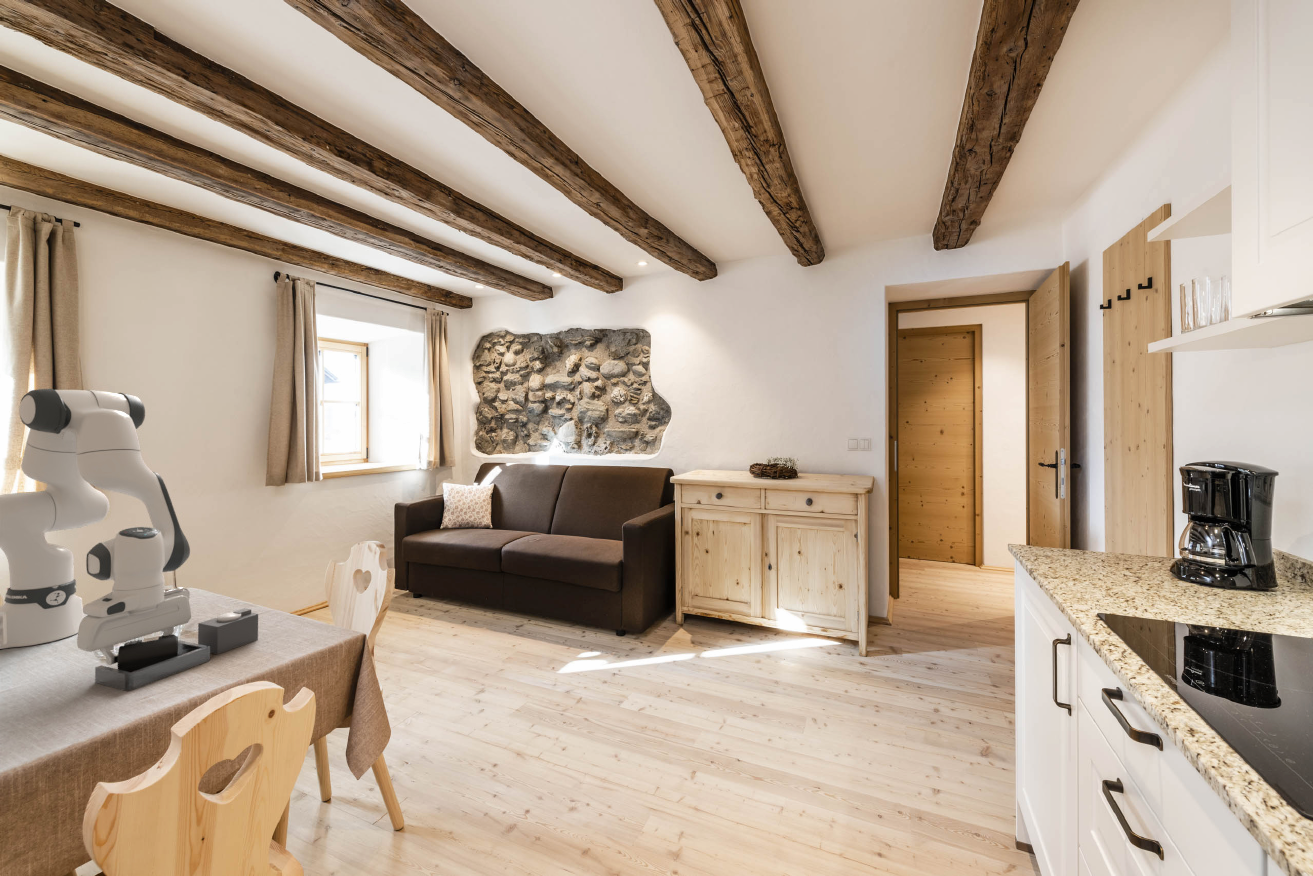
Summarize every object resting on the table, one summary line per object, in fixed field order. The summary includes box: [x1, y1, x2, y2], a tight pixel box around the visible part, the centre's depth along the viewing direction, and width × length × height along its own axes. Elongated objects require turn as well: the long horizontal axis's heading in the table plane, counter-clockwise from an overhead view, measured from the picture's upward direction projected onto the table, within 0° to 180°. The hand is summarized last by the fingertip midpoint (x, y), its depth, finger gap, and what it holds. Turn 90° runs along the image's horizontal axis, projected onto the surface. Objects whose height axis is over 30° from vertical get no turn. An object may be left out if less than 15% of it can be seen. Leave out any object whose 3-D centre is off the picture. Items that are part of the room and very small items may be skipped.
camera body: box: [197, 607, 259, 655], centre depth 138 cm, size 7×10×8 cm
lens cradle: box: [94, 639, 211, 692], centre depth 122 cm, size 11×16×4 cm
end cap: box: [117, 633, 179, 672], centre depth 124 cm, size 10×7×7 cm
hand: (138, 655), depth 124 cm, fingers open, 8 cm apart
